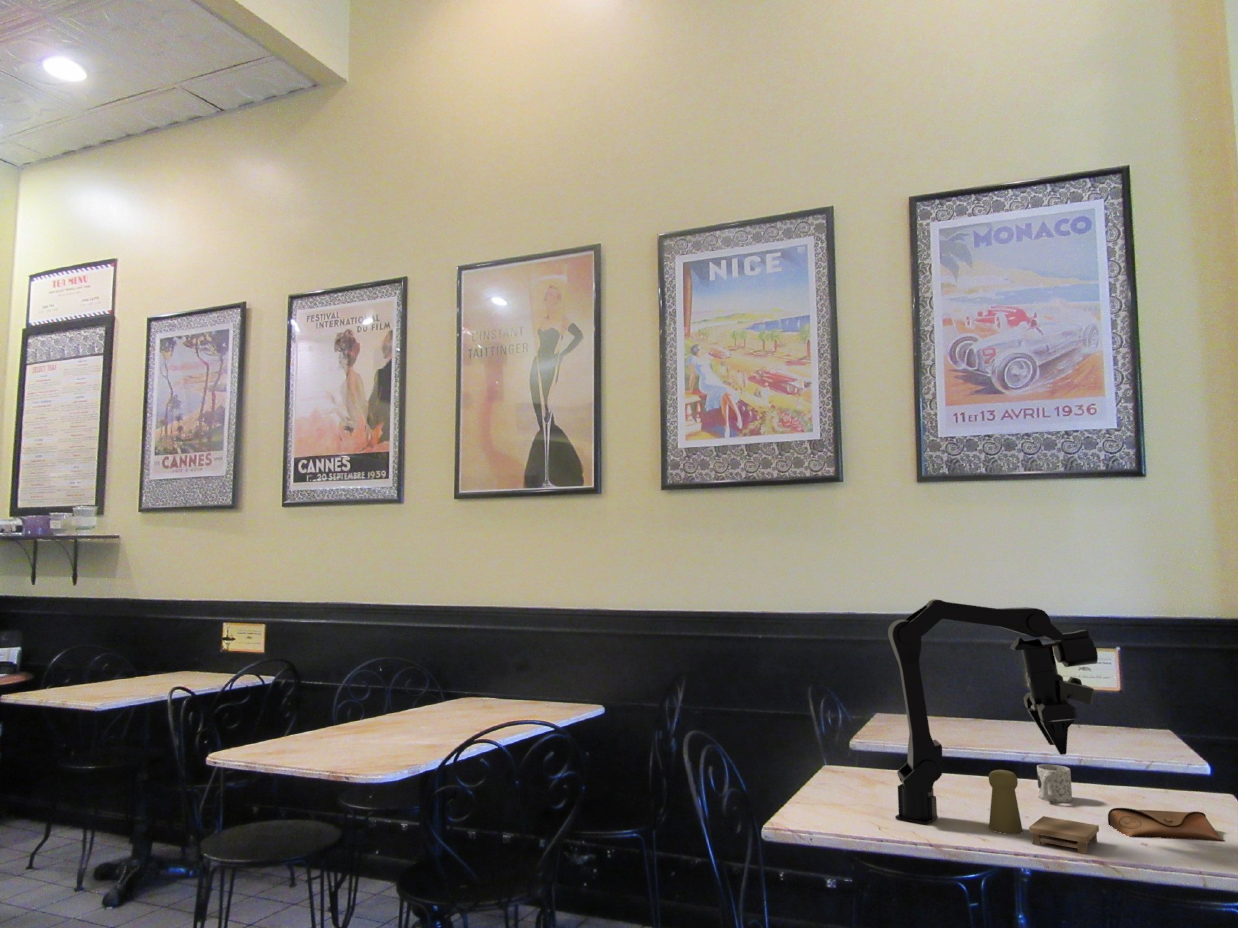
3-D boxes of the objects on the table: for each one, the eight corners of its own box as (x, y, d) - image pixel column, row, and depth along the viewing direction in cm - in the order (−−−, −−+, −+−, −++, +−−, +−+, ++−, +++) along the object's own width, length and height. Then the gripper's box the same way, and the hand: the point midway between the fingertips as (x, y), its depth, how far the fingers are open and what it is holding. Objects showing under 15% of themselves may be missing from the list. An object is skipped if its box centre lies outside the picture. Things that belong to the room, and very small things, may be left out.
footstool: (1030, 843, 159) (1029, 826, 159) (1044, 832, 166) (1043, 815, 167) (1087, 854, 153) (1086, 836, 153) (1099, 842, 160) (1098, 825, 161)
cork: (1026, 834, 165) (1023, 774, 166) (992, 833, 166) (989, 773, 167) (1018, 825, 170) (1015, 768, 172) (985, 824, 172) (982, 766, 173)
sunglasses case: (1125, 836, 163) (1116, 800, 167) (1113, 846, 169) (1104, 811, 173) (1229, 841, 160) (1217, 804, 165) (1214, 851, 166) (1202, 815, 170)
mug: (1044, 793, 196) (1042, 763, 197) (1076, 798, 191) (1074, 767, 192) (1028, 801, 189) (1026, 770, 190) (1061, 807, 184) (1059, 774, 185)
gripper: (1097, 671, 164) (1115, 755, 162) (1073, 660, 182) (1089, 736, 180) (1034, 677, 167) (1051, 761, 165) (1016, 666, 185) (1031, 741, 182)
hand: (1057, 749), depth 173 cm, fingers open, 9 cm apart
